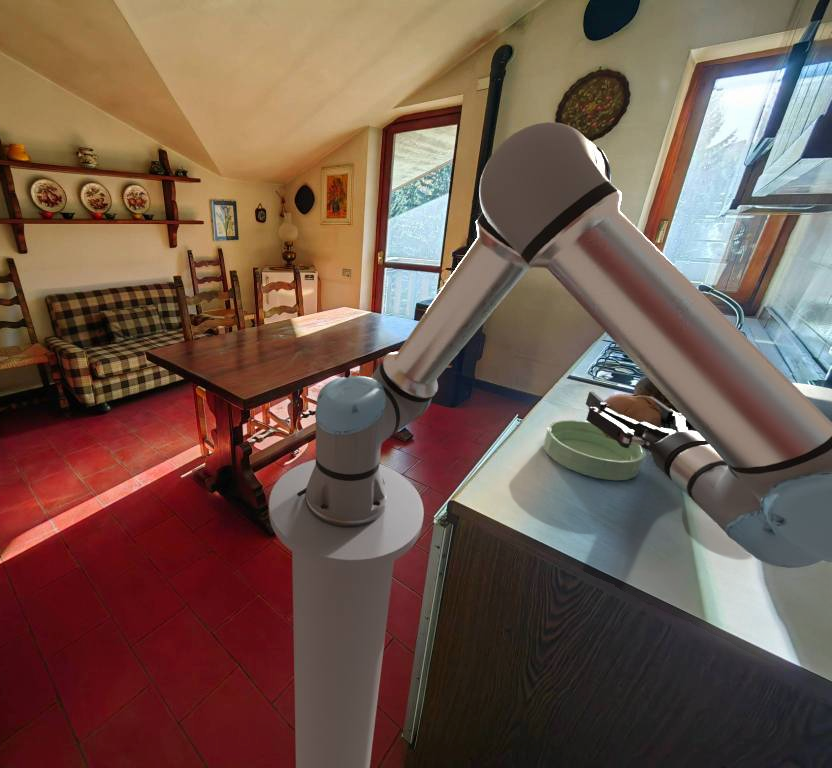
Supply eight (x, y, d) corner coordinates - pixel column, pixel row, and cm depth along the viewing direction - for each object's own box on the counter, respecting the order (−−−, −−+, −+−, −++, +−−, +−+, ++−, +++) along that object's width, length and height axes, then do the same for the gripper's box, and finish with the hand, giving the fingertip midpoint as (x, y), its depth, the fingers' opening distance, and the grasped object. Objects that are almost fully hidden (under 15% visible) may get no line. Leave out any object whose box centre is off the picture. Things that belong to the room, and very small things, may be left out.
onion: (634, 452, 75) (679, 413, 70) (628, 458, 68) (676, 416, 64) (589, 419, 80) (627, 381, 76) (578, 421, 73) (620, 380, 69)
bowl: (580, 485, 80) (587, 464, 78) (526, 439, 96) (531, 421, 94) (659, 479, 82) (668, 459, 80) (593, 436, 98) (599, 418, 96)
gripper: (604, 477, 58) (551, 412, 79) (778, 498, 54) (676, 423, 75) (619, 434, 55) (561, 377, 76) (804, 452, 52) (690, 387, 72)
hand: (618, 400), depth 75 cm, fingers closed on onion, 9 cm apart
